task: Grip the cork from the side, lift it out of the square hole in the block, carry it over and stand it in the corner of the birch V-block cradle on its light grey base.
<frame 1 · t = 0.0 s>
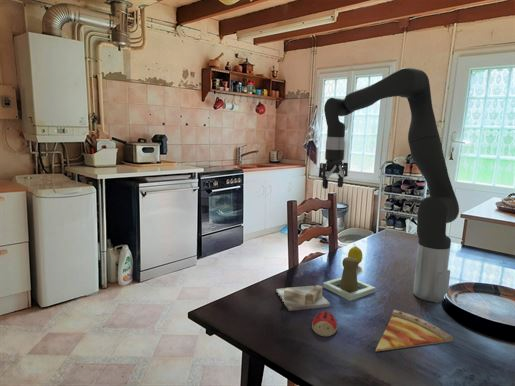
hand: (332, 187, 149), 29 cm above the table, tool pointing down, fingers open, 8 cm apart
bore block: (348, 289, 121), on the table
cork: (348, 290, 121), resting in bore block
pizza slice: (396, 331, 97), on the table
lemon: (354, 266, 143), on the table
v-block cradle: (301, 298, 113), on the table
ladybug figurine: (324, 329, 97), on the table
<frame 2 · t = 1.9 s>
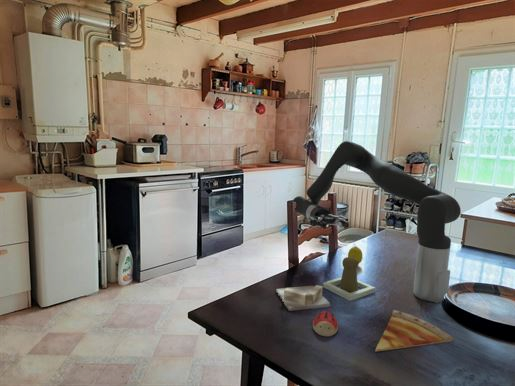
hand: (336, 225, 128), 19 cm above the table, tool horizontal, fingers open, 8 cm apart
nothing on the table moved.
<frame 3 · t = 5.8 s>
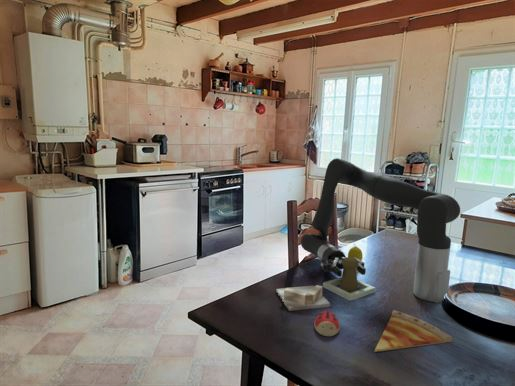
hand: (352, 273, 118), 7 cm above the table, tool horizontal, fingers open, 8 cm apart
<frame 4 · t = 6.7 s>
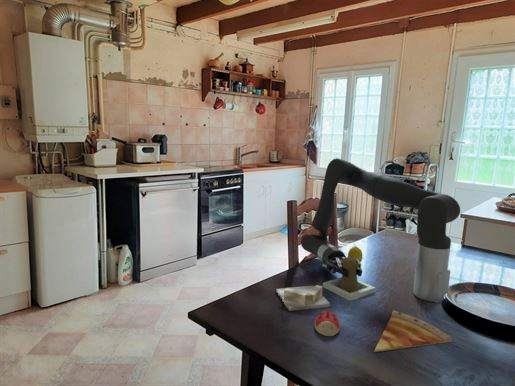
hand: (354, 273, 117), 7 cm above the table, tool horizontal, fingers closed on cork, 4 cm apart
cork: (348, 290, 121), resting in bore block, touching gripper
everything else where it was.
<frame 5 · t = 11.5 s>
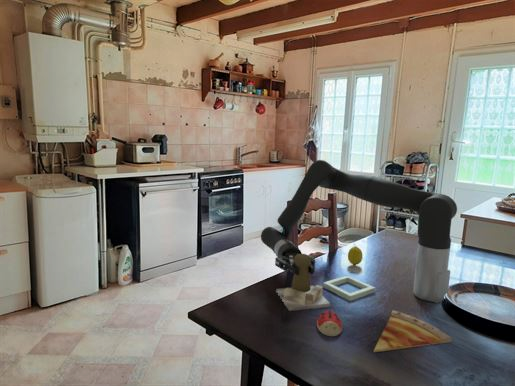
hand: (305, 271, 110), 10 cm above the table, tool horizontal, fingers closed on cork, 4 cm apart
cork: (300, 288, 114), point 3 cm above the table, touching gripper
when the fingers open (9 cm above the table, at t = 12.6 s): cork stays where it is, resting on v-block cradle.
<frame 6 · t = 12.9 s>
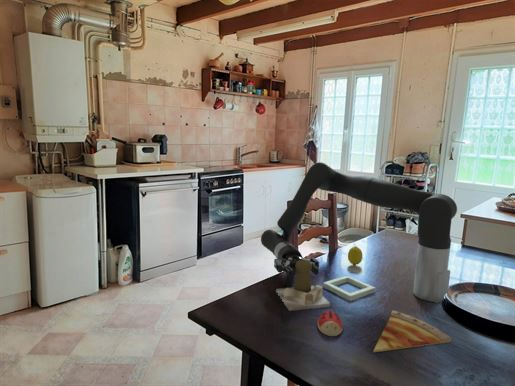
hand: (304, 273, 111), 9 cm above the table, tool horizontal, fingers open, 7 cm apart
cork: (302, 294, 114), point 1 cm above the table, touching v-block cradle
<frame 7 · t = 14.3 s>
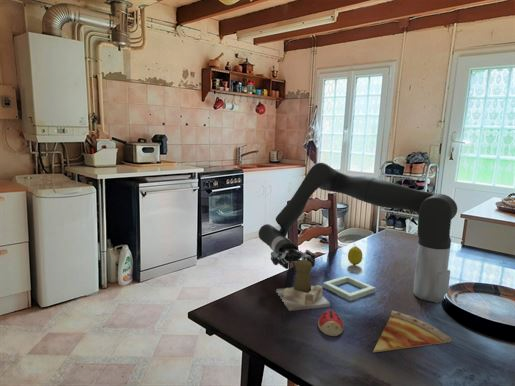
hand: (300, 265, 114), 10 cm above the table, tool horizontal, fingers open, 8 cm apart
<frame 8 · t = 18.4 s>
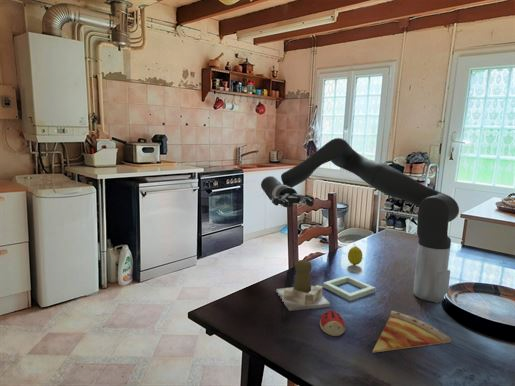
hand: (299, 204, 121), 28 cm above the table, tool horizontal, fingers open, 8 cm apart
at the end: cork 0.5 cm off-centre on the v-block cradle, point 0.8 cm above the v-block cradle's base; cork tilted 0°; the gripper is holding nothing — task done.
